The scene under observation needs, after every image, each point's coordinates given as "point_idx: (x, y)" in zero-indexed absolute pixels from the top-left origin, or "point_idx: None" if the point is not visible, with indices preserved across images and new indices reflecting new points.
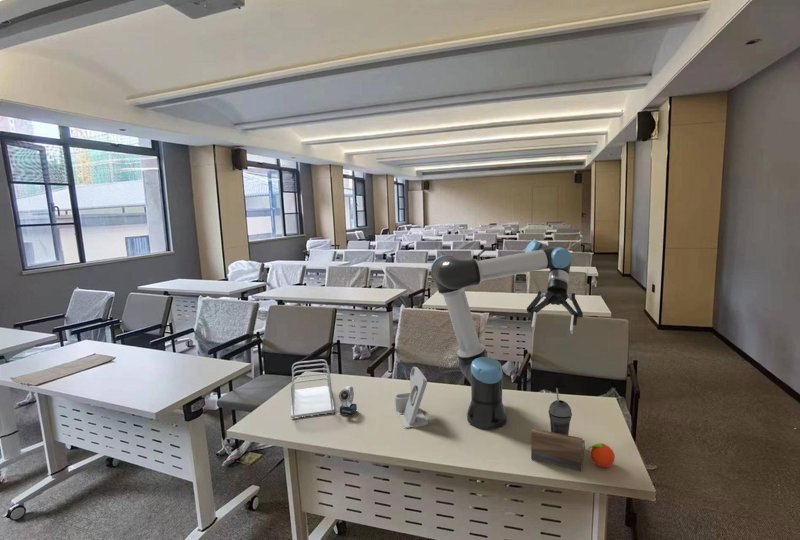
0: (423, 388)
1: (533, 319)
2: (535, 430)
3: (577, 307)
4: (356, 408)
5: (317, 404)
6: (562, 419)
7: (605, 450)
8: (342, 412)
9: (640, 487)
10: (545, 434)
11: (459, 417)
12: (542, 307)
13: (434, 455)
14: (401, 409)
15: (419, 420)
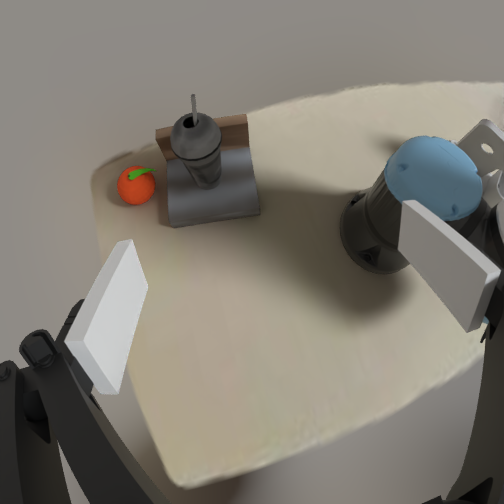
0: (477, 125)
1: (445, 227)
2: (240, 118)
3: (6, 436)
4: None
5: None
6: (188, 126)
7: (126, 170)
8: None
9: (97, 173)
10: (219, 118)
11: None
12: (484, 407)
13: (373, 99)
14: (491, 176)
15: None
